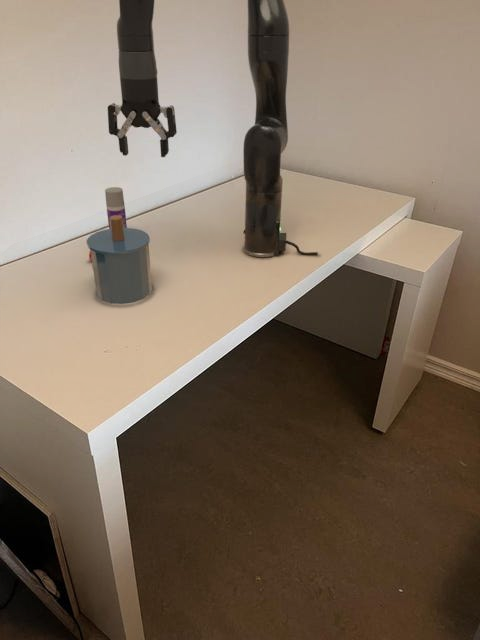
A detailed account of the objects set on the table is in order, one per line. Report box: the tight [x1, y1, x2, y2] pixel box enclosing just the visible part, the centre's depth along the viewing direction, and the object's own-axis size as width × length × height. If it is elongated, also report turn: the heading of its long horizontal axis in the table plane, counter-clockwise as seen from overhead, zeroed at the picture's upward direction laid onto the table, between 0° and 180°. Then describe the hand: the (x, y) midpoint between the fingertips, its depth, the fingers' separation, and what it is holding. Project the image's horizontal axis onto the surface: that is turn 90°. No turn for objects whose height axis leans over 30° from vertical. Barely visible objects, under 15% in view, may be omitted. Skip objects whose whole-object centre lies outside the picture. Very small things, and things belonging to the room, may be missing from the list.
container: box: [104, 186, 128, 229], centre depth 140 cm, size 5×5×15 cm
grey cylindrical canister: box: [89, 243, 153, 305], centre depth 117 cm, size 12×12×12 cm
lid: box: [86, 215, 151, 255], centre depth 113 cm, size 13×13×6 cm
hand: (144, 155), depth 116 cm, fingers open, 8 cm apart
